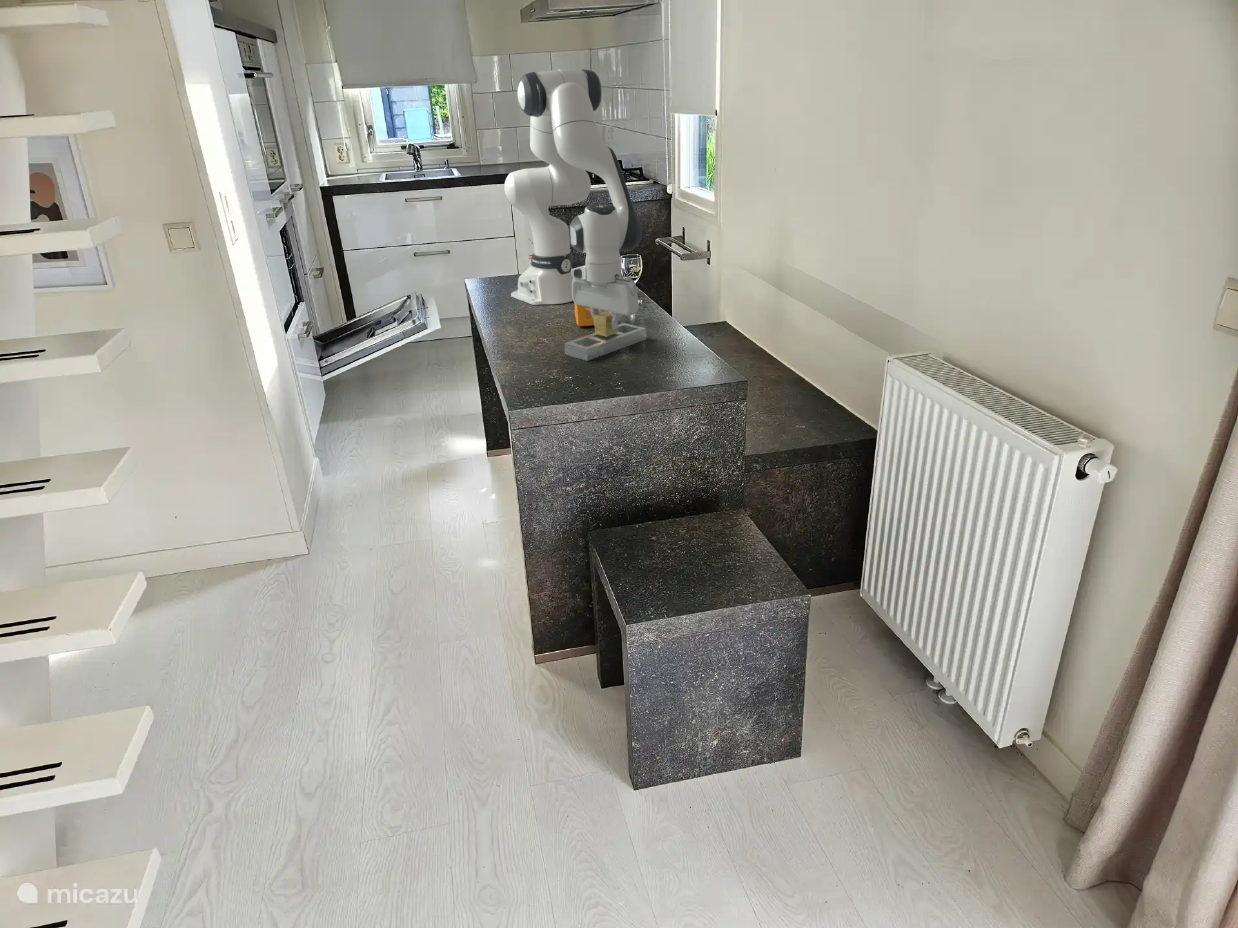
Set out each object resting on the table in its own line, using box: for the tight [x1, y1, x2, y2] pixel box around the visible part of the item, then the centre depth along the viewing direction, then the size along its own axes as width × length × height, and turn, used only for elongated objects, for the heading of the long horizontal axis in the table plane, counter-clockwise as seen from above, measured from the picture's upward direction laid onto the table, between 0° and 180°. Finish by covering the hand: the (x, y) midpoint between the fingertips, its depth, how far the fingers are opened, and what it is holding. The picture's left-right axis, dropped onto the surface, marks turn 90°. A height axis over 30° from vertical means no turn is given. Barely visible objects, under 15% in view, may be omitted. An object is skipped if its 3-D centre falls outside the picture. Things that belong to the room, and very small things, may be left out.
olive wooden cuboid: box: [594, 310, 617, 336], centre depth 207 cm, size 4×4×5 cm
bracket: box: [574, 303, 602, 327], centre depth 227 cm, size 11×7×12 cm, turn 8°
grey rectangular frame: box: [563, 322, 647, 361], centre depth 209 cm, size 8×22×3 cm, turn 137°
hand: (605, 326), depth 207 cm, fingers closed on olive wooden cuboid, 4 cm apart
